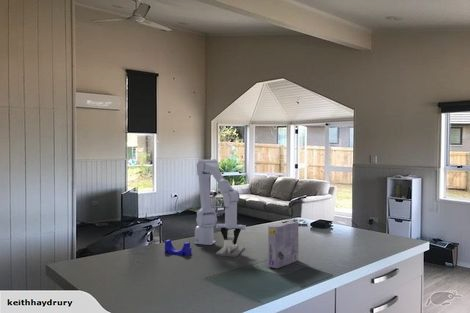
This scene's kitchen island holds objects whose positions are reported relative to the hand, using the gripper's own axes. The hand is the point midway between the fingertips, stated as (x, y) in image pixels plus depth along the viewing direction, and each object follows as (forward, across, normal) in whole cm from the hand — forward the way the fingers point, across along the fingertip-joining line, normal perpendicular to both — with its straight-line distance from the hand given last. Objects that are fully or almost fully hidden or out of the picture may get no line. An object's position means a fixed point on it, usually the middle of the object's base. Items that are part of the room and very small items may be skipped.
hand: (230, 243), depth 199 cm
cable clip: (+4, -23, -10) cm, 26 cm away
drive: (+2, 0, 0) cm, 2 cm away
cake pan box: (+4, +28, -12) cm, 31 cm away
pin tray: (+4, 0, 0) cm, 4 cm away
